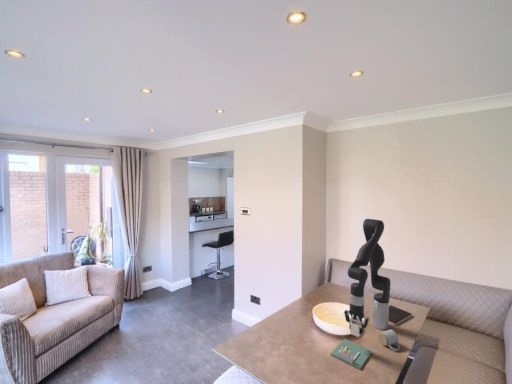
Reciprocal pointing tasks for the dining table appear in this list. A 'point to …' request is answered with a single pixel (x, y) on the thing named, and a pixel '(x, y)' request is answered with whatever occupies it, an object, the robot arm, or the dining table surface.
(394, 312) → the hardcover book
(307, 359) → the dining table surface
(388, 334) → the ceramic mug
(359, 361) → the header board
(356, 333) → the plug block
